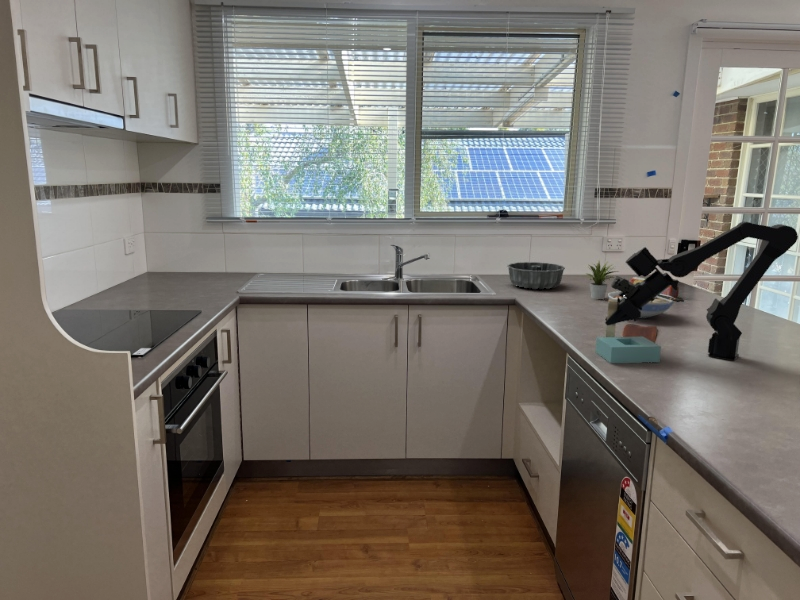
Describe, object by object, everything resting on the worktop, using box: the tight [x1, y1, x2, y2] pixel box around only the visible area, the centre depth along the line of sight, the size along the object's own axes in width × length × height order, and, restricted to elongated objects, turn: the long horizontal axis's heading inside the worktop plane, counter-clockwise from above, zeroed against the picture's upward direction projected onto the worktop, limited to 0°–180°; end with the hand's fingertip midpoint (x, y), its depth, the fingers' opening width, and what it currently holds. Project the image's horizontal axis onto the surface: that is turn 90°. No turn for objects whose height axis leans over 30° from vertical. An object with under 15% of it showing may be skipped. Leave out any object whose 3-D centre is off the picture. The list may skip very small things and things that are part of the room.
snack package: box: [629, 276, 680, 299], centre depth 245 cm, size 21×7×7 cm, turn 28°
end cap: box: [595, 336, 662, 364], centre depth 156 cm, size 10×14×4 cm
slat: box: [605, 298, 617, 337], centre depth 166 cm, size 4×2×14 cm, turn 160°
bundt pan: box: [507, 261, 566, 290], centre depth 264 cm, size 26×26×10 cm
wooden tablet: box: [622, 323, 658, 344], centre depth 179 cm, size 27×10×2 cm, turn 154°
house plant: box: [585, 260, 620, 300], centre depth 234 cm, size 14×14×16 cm
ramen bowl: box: [607, 290, 685, 319], centre depth 205 cm, size 25×23×8 cm
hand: (606, 322), depth 167 cm, fingers closed on slat, 4 cm apart
